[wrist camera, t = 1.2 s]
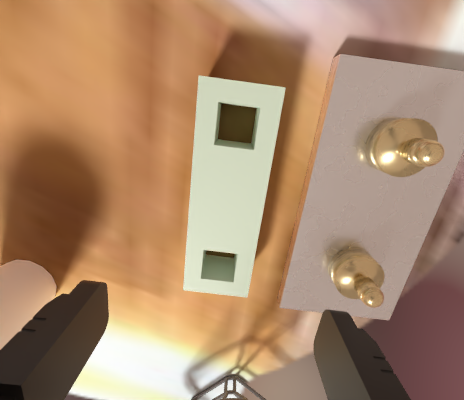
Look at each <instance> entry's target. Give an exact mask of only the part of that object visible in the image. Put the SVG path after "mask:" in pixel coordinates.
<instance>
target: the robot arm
mask: <svg viewBox="0 0 464 400" xmlns="http://www.w3.org/2000/svg"><path fill="white" fill-rule="evenodd" d="M108 317H109V312H108V292H107V284H106V283H103V282H95V281H86V280H83V281H81V282H80V283H79V284H78V285H77V286H76V287H75V288H74V289H73V290H72V292H71V293H70V294H61V295H60V296H58V297H56V298H55V299H53V300H52V301H50V302H48V303H47V304H45V305H44V306H43V307H42V308H41V309H40V310H39V311H38V312H37V313H36V314H35V315H34V316H33V319H32V320H29V322H28V323H27V324H26V325H25V326H24V327H23V328H22V330H21V331H19V332H18V333H17V334H16V335H15V336H14V337H13V338H12V339H11V340H10V341H9V342H8V343H7V344H6V345H5V346H4V347H3V348H2V349H1V350H0V400H64V399H65V397H66V396H67V394H68V392H69V391H70V389H71V387H72V386H73V384H74V382H75V381H76V379H77V377H78V376H79V374H80V372H81V371H82V369H83V367H84V366H85V364H86V362H87V361H88V359H89V357H90V356H91V354H92V352H93V351H94V349H95V347H96V346H97V344H98V342H99V341H100V339H101V337H102V336H103V334H104V332H105V329H106V326H107V323H108ZM314 356H315V360H316V363H317V366H318V369H319V373H320V376H321V379H322V382H323V385H324V389H325V392H326V395H327V398H328V400H411V399H410V398H409V396H408V394H407V393H406V391H405V389H404V388H403V386H402V384H401V383H400V381H399V379H398V378H397V376H396V375H395V374H394V373H393V369H392V368H391V366H390V364H389V363H388V362H387V361H386V360H385V356H384V355H383V353H382V351H381V350H380V348H379V346H378V345H377V343H376V342H375V341H374V340H373V339H372V338H371V337H370V336H369V335H368V334H367V333H366V332H365V331H364V330H363V329H358V328H357V327H356V325H355V323H354V321H353V319H352V318H351V316H350V314H349V313H348V312H345V311H337V310H328V309H326V310H324V312H323V314H322V317H321V321H320V324H319V327H318V330H317V333H316V336H315V340H314Z"/></svg>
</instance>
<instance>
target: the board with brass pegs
mask: <svg viewBox="0 0 464 400" xmlns="http://www.w3.org/2000/svg"><path fill="white" fill-rule="evenodd" d="M463 151H464V71H459V70H452V69H444V68H437V67H430V66H423V65H416V64H409V63H402V62H395V61H388V60H381V59H374V58H367V57H360V56H353V55H345V54H339V55H338V56H336V57H334V58H333V61H332V65H331V70H330V74H329V78H328V83H327V87H326V91H325V96H324V100H323V104H322V108H321V113H320V117H319V121H318V126H317V130H316V134H315V138H314V143H313V147H312V151H311V156H310V160H309V164H308V169H307V173H306V177H305V181H304V186H303V190H302V194H301V199H300V203H299V207H298V211H297V216H296V220H295V224H294V229H293V233H292V237H291V241H290V246H289V250H288V254H287V259H286V263H285V267H284V272H283V276H282V280H281V284H280V289H279V293H278V297H277V298H278V303H279V308H286V309H295V310H303V311H312V312H321V313H323V312H324V310H326V309H328V310H337V311H345V312H348V313H349V314H350V316H356V317H365V318H373V319H382V320H389V319H390V317H391V315H392V313H393V310H394V308H395V306H396V303H397V301H398V299H399V297H400V294H401V292H402V290H403V288H404V285H405V283H406V281H407V278H408V276H409V274H410V272H411V269H412V267H413V265H414V262H415V260H416V258H417V256H418V253H419V251H420V249H421V246H422V244H423V242H424V240H425V237H426V235H427V233H428V231H429V228H430V226H431V224H432V221H433V219H434V217H435V215H436V212H437V210H438V208H439V205H440V203H441V201H442V199H443V196H444V194H445V192H446V189H447V187H448V185H449V183H450V180H451V178H452V176H453V173H454V171H455V169H456V167H457V164H458V162H459V160H460V158H461V155H462V153H463Z"/></svg>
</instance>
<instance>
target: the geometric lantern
mask: <svg viewBox="0 0 464 400" xmlns="http://www.w3.org/2000/svg"><path fill="white" fill-rule="evenodd" d="M228 380H233V390H229V391H227V384H228ZM236 380H237V381H238V382H239V383H241V384H242V385H243V386H244V387H246V388H247V389H248V390H250V391H251V392H252V393H254V394H255V395H256V396H257V397H259V398H260V399H261V400H266V399H265V398H263V397H262V396H261V395H260V394H258V393H257V392H256V391H254V390H253V389H252V388H251V387H249V386H248V385H247V384H246V383H244V382H243V381H242V380H241V379H239V378H238V377H237V376H230V377H225V378H224V379H223V380H221V381H219V382H218V383H216V384H215V385H213V386H211V387H210V388H208V389H207V390H205V391H203V392H202V393H200V394H199V395H197V396H195V397H194V398H192V399H191V400H197V399H198V398H200V397H201V396H203V395H205V394H206V393H208V392H209V391H211V390H213V389H214V388H216V387H217V386H219V385H221V384H222V383H224V382H225V386H224V393H223V394H221V395H219V396H217V397H216V398H214V399H212V400H219V399H220V400H248V399H247V398H246V397H244V396H243V395H241V394H239V393H238V392H236ZM228 394H234V395H235V396H236V397H237V398H227V396H228ZM221 398H222V399H221Z"/></svg>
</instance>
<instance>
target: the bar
mask: <svg viewBox="0 0 464 400" xmlns="http://www.w3.org/2000/svg"><path fill="white" fill-rule="evenodd" d="M285 89H286V87H279V86H272V85H265V84H257V83H250V82H243V81H235V80H228V79H221V78H214V77H206V76H199V79H198V93H197V106H196V120H195V134H194V148H193V161H192V175H191V189H190V203H189V216H188V230H187V244H186V258H185V271H184V285H183V290H186V291H195V292H204V293H212V294H221V295H230V296H239V297H248V292H249V286H250V281H251V275H252V270H253V265H254V259H255V254H256V248H257V243H258V237H259V232H260V226H261V221H262V215H263V210H264V204H265V199H266V193H267V188H268V182H269V177H270V171H271V166H272V160H273V155H274V149H275V144H276V138H277V133H278V127H279V122H280V116H281V111H282V105H283V100H284V94H285ZM221 104H230V105H237V106H244V107H252V108H256V114H255V121H254V127H253V134H252V141H251V143H244V142H236V141H228V140H221V139H218V133H219V123H220V114H221ZM206 250H209V251H217V252H225V253H234V254H235V255H234V258H231V257H222V256H214V255H206Z"/></svg>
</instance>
